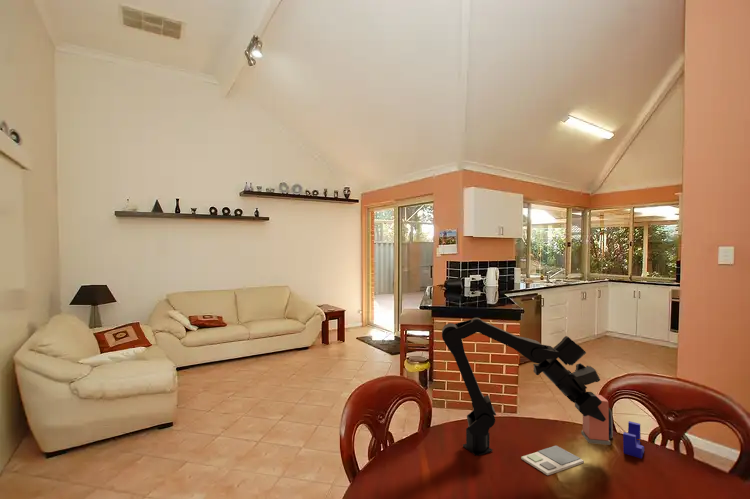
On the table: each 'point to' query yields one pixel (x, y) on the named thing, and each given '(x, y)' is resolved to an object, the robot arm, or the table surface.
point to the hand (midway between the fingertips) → (600, 416)
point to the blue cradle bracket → (633, 440)
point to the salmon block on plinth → (597, 425)
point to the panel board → (552, 460)
